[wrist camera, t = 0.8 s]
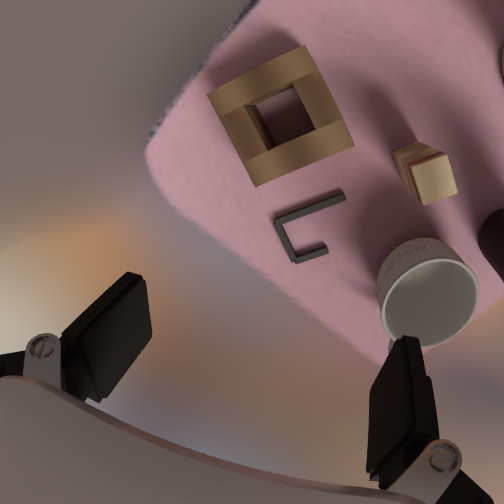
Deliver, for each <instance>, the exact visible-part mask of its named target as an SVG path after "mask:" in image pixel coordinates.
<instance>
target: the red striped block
mask: <svg viewBox="0 0 504 504" xmlns="http://www.w3.org/2000/svg"><path fill="white" fill-rule="evenodd" d="M391 152H392V155H393V158H394V160H395V163H396V166H397V168H398V171H399V174H400V177H401V180H402V181H403V182H404V183H405V184H406V185H407V187H408V188H409V189H410V190H411V191H412V192H413V194H414V195H415V196H416V197H417V198H418V200H419V201H420V203H422V204H423V206H424V205H427V204H430V203H432V202H435V201H438V200H441V199H443V198H446V197H449V196H451V195H454V194H457V193H458V192H457V188H456V184H455V180H454V177H453V173H452V170H451V166H450V163H449V160H448V156H447V154H445V153H443V152H441V151H438V150H436V149H434V148H432V147H430V146H427V145H425V144H423V143H421V142H415V143H412V144H409V145H407V146H404V147H401V148H398V149H396V150H393V151H391Z"/></svg>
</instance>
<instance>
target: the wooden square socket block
mask: <svg viewBox="0 0 504 504" xmlns="http://www.w3.org/2000/svg"><path fill="white" fill-rule="evenodd" d="M292 87H295V89H296V91H297V93H298V95H299V97H300V99H301V101H302V103H303V104H304V106H305V108H306V110H307V112H308V114H309V116H310V118H311V121H312V123H313V125H314V127H315V129H312V130H310V131H307V132H305V133H303V134H300V135H298V136H296V137H294V138H291V139H289V140H287V141H285V142H282V143H280V144H278V145H276V144H275V142H274V140H273V138H272V136H271V134H270V132H269V130H268V128H267V127H266V125H265V123H264V121H263V119H262V117H261V115H260V113H259V111H258V109H257V107H256V104H258V103H260V102H262V101H264V100H266V99H268V98H270V97H272V96H275V95H277V94H279V93H281V92H283V91H285V90H287V89H290V88H292ZM207 96H208V98H209V100H210V102H211V103H212V105H213V107H214V109H215V111H216V113H217V115H218V117H219V118H220V120H221V122H222V124H223V126H224V128H225V130H226V132H227V134H228V136H229V137H230V139H231V141H232V143H233V145H234V147H235V149H236V151H237V153H238V155H239V157H240V159H241V161H242V163H243V164H244V166H245V168H246V170H247V172H248V174H249V176H250V178H251V180H252V182H253V184H254V186H255V187H257V186H260V185H262V184H264V183H267V182H269V181H271V180H273V179H276V178H278V177H280V176H283V175H285V174H287V173H290V172H292V171H294V170H297V169H299V168H302V167H304V166H306V165H309V164H311V163H314V162H316V161H319V160H321V159H323V158H326V157H328V156H331V155H333V154H336V153H338V152H341V151H343V150H346V149H349V148H351V147H354V146H355V144H354V142H353V140H352V137H351V135H350V133H349V131H348V128H347V126H346V124H345V122H344V120H343V118H342V115H341V113H340V111H339V109H338V107H337V105H336V103H335V101H334V99H333V97H332V95H331V93H330V91H329V89H328V87H327V85H326V83H325V81H324V79H323V77H322V75H321V74H320V72H319V70H318V68H317V66H316V64H315V63H314V61H313V59H312V57H311V55H310V54H309V52H308V50H307V48H306V47H305V45H303V46H300V47H298V48H296V49H294V50H291V51H289V52H287V53H285V54H283V55H280V56H278V57H276V58H274V59H272V60H270V61H268V62H266V63H264V64H262V65H260V66H258V67H256V68H254V69H252V70H250V71H248V72H246V73H244V74H242V75H240V76H239V77H237V78H235V79H233V80H231V81H229V82H228V83H226V84H224V85H222V86H220V87H219V88H217V89H215V90H213V91H212V92H210V93H208V94H207Z"/></svg>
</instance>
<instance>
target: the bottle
mask: <svg viewBox="0 0 504 504" xmlns="http://www.w3.org/2000/svg"><path fill="white" fill-rule="evenodd" d="M479 244H480V249H481V251H482V253H483V255H484V257H485V258H486V259H487V261H488V262H489V263H490V265H491V266H492V267H493V268H494V270H495V271H496V272H497V274H498V275H499V276H500V278H501V279H502V280H503V282H504V209H500V210H497V211H495V212H493V213H492V214H491V215H490V216H489V217H488V218H487V219H486V221H485V222H484V224H483V226H482V228H481V231H480V237H479Z"/></svg>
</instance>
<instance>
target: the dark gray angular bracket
mask: <svg viewBox="0 0 504 504" xmlns="http://www.w3.org/2000/svg"><path fill="white" fill-rule="evenodd" d="M345 200H346V198H345V195H344V193H343V192H342V193H340V194H337V195H334V196H332V197H329V198H327V199H324V200H321V201H319V202H316V203H314V204H311V205H309V206H306V207H303V208H301V209H298V210H296V211H293V212H291V213H288V214H285V215H283V216H280V217H278V218H276V219H275V222H274V224H273V225H274V227H275V230H276V232H277V234H278V236H279V238H280V240H281V242H282V244H283V246H284V248H285V250H286V252H287V254H288V256H289V258H290V260H291V262H292V263H293V262H295V264H299V263H302V262H305V261H308V260H310V259H313V258H316V257H319V256H322V255H325V254H328V252H329V251H328V248H327V246H323V247H320V248H317V249H314V250H312V251H309V252H306V253H303V254H300V255H296V253H295V251H294V249H293V246H292V244H291V242H290V240H289V238H288V236H287V234H286V232H285V230H284V228H283V226H282V224H284V223H287V222H289V221H292V220H295V219H297V218H300V217H302V216H305V215H308V214H310V213H313V212H316V211H318V210H321V209H323V208H326V207H329V206H331V205H334V204H337V203H339V202H342V201H345Z"/></svg>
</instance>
